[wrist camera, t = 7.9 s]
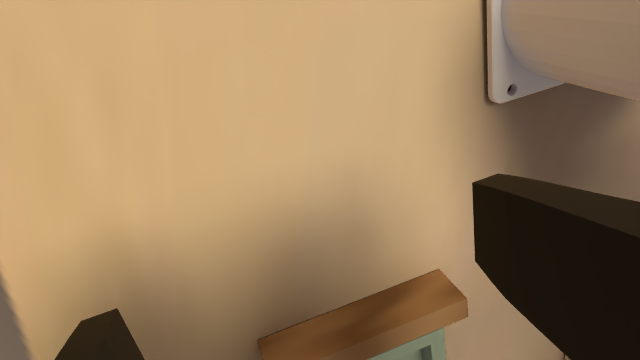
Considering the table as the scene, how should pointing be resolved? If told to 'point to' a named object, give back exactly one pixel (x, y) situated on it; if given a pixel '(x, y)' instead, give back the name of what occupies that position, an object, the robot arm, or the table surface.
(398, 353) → the tray
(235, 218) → the table surface
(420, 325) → the rail
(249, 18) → the table surface
